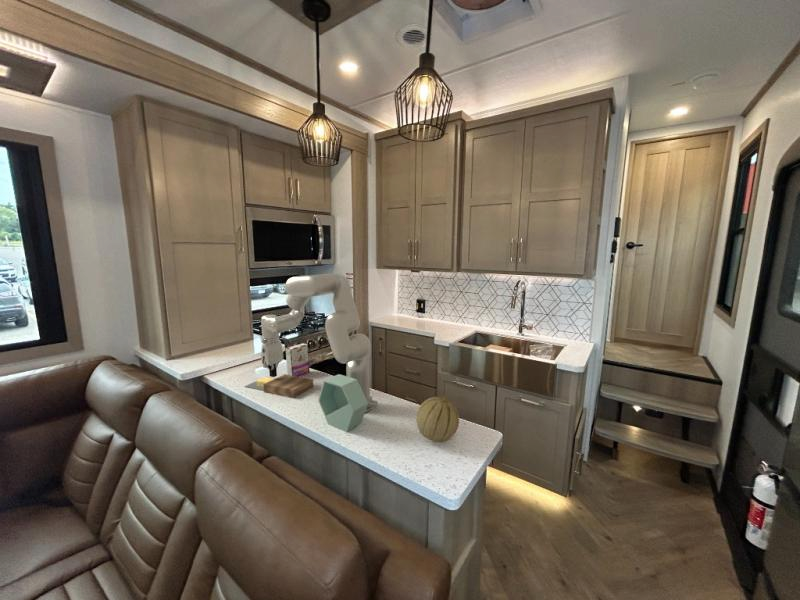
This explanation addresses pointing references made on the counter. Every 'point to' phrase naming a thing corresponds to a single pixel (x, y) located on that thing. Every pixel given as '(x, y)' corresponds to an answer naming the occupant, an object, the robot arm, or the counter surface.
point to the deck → (288, 386)
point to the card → (263, 381)
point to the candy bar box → (297, 360)
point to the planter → (342, 402)
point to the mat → (255, 386)
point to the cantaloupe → (437, 419)
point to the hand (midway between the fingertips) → (273, 376)
